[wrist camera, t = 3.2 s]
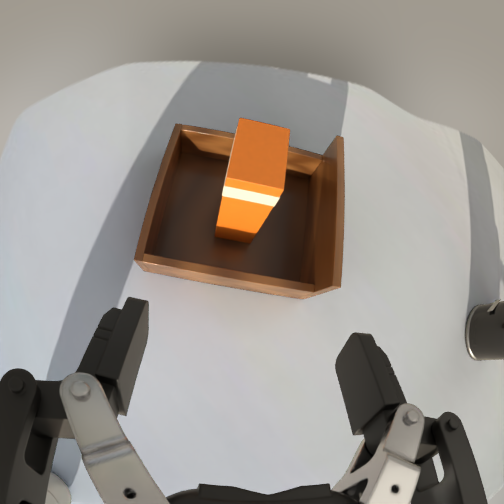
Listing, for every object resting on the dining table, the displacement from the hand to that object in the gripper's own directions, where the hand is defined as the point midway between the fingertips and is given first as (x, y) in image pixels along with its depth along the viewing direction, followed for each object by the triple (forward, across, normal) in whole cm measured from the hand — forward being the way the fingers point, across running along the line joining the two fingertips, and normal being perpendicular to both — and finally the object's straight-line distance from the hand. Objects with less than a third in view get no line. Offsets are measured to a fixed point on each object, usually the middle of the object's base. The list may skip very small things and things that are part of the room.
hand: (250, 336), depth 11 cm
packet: (+22, 0, +5) cm, 23 cm away
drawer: (+23, 0, +5) cm, 23 cm away
